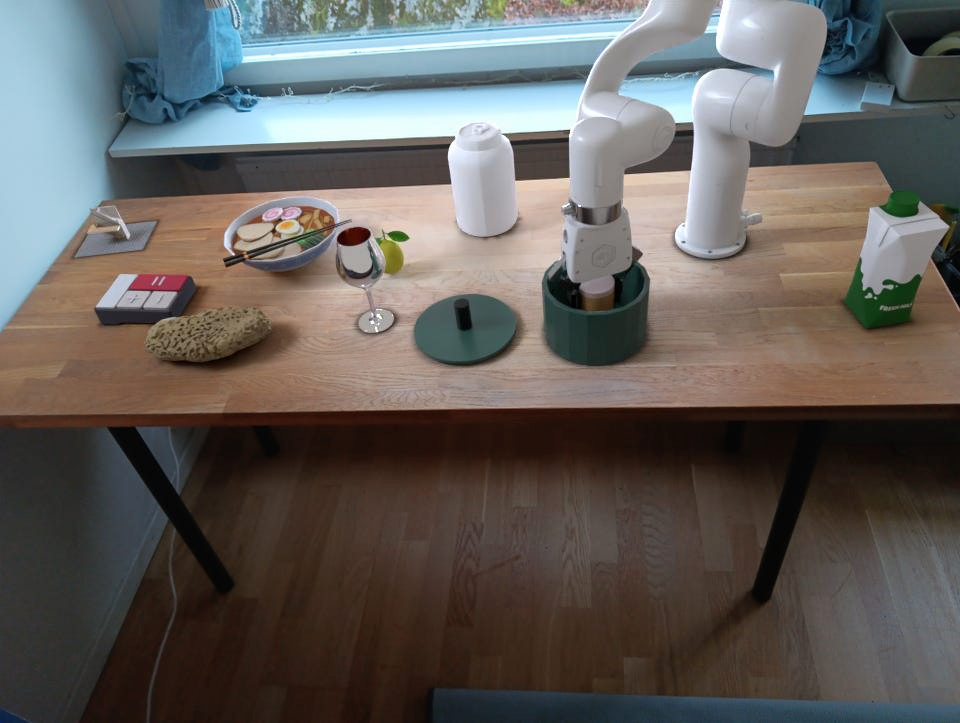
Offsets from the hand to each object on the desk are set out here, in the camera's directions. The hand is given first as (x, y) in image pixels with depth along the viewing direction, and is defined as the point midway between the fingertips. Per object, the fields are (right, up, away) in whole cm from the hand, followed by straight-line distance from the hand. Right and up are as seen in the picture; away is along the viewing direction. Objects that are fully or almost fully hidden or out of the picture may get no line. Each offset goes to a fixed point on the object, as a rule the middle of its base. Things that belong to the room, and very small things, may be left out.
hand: (594, 302), depth 116 cm
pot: (+1, -5, +4) cm, 6 cm away
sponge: (-65, -7, +12) cm, 66 cm away
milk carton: (+46, -2, +1) cm, 46 cm away
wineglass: (-37, -3, +12) cm, 39 cm away
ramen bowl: (-56, +11, +30) cm, 65 cm away
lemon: (-35, +7, +22) cm, 42 cm away
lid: (-21, -4, +7) cm, 23 cm away
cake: (0, -1, +1) cm, 1 cm away
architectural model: (-98, +17, +42) cm, 108 cm away
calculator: (-82, +1, +23) cm, 85 cm away
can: (-17, +19, +32) cm, 41 cm away
